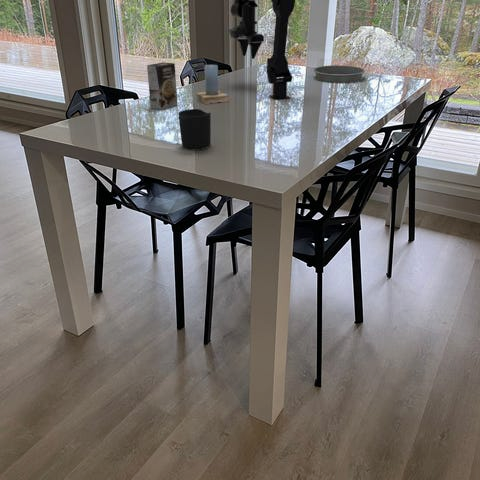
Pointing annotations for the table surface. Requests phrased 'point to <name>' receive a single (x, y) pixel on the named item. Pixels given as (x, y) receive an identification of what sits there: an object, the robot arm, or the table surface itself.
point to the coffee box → (162, 85)
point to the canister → (211, 79)
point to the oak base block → (212, 97)
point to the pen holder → (195, 128)
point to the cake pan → (338, 73)
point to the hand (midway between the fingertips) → (248, 57)
